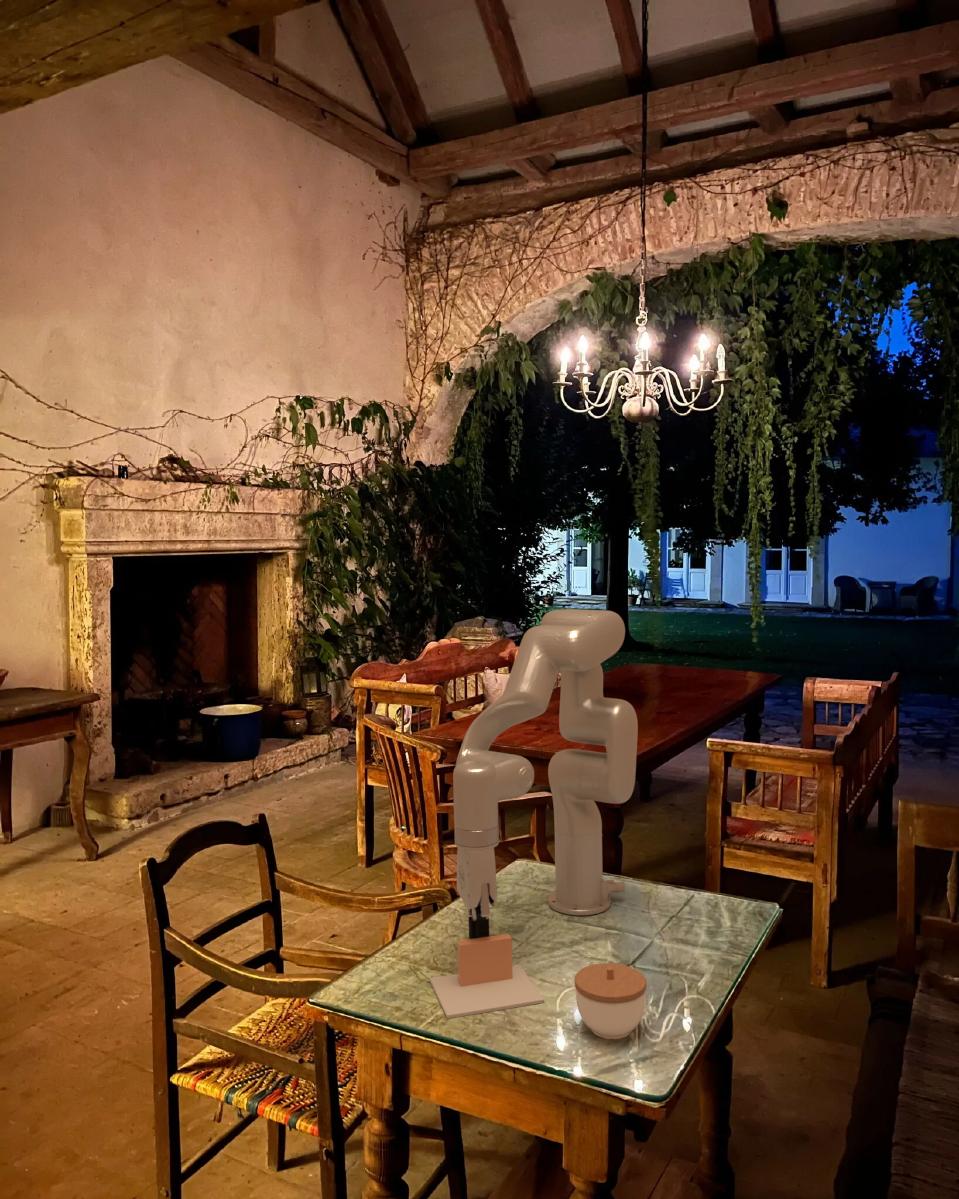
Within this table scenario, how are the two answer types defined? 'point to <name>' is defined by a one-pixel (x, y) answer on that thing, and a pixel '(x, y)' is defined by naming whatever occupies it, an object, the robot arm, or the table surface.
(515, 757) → the robot arm
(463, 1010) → the mat
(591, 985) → the lidded jar
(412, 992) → the table surface
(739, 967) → the table surface
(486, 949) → the block
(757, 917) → the table surface
